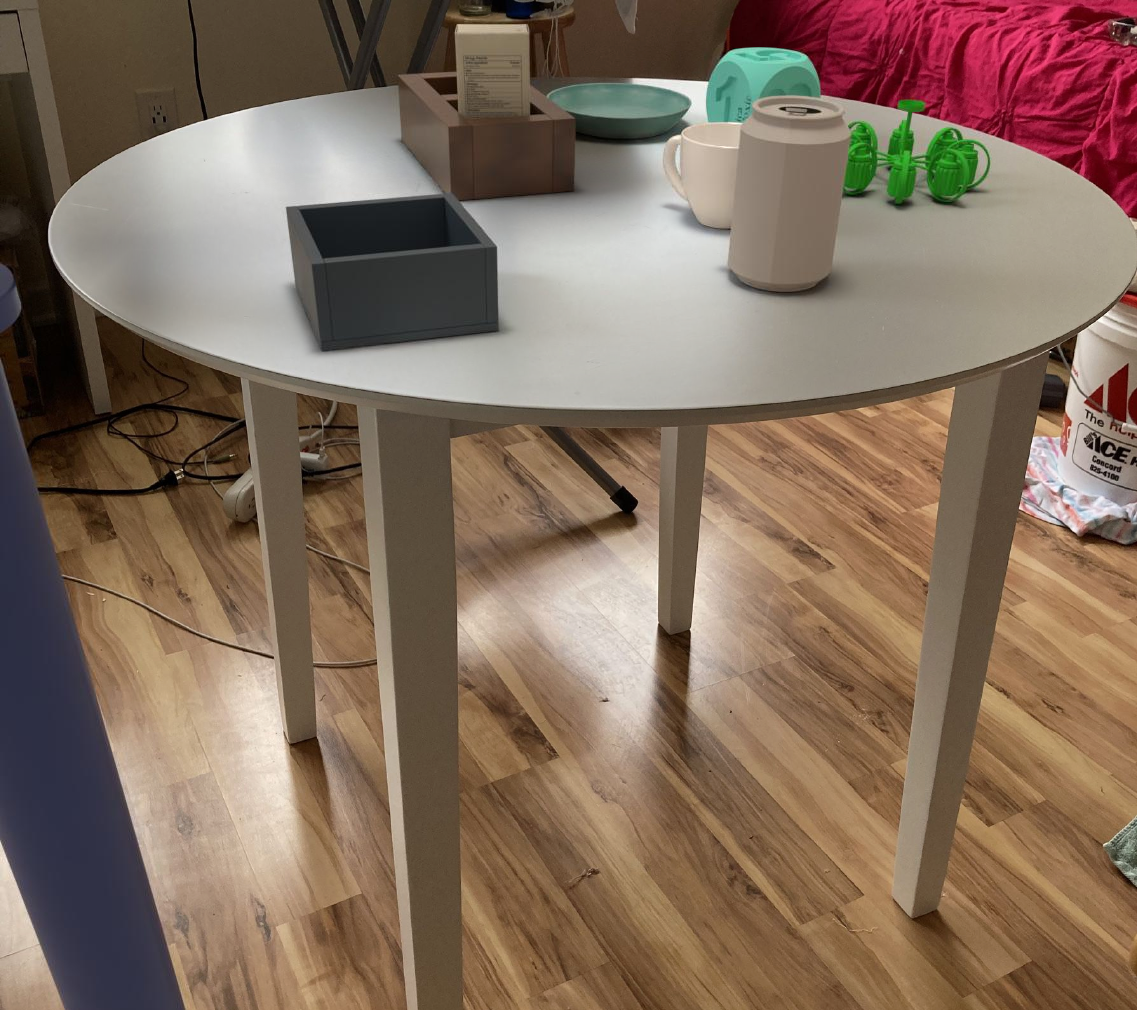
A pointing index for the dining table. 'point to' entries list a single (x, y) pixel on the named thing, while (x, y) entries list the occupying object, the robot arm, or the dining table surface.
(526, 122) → the box
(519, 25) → the cosmetic box
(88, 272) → the dining table surface
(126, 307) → the dining table surface
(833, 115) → the can
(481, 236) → the open box
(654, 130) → the saucer
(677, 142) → the cup
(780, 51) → the decorative dice
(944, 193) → the chandelier
